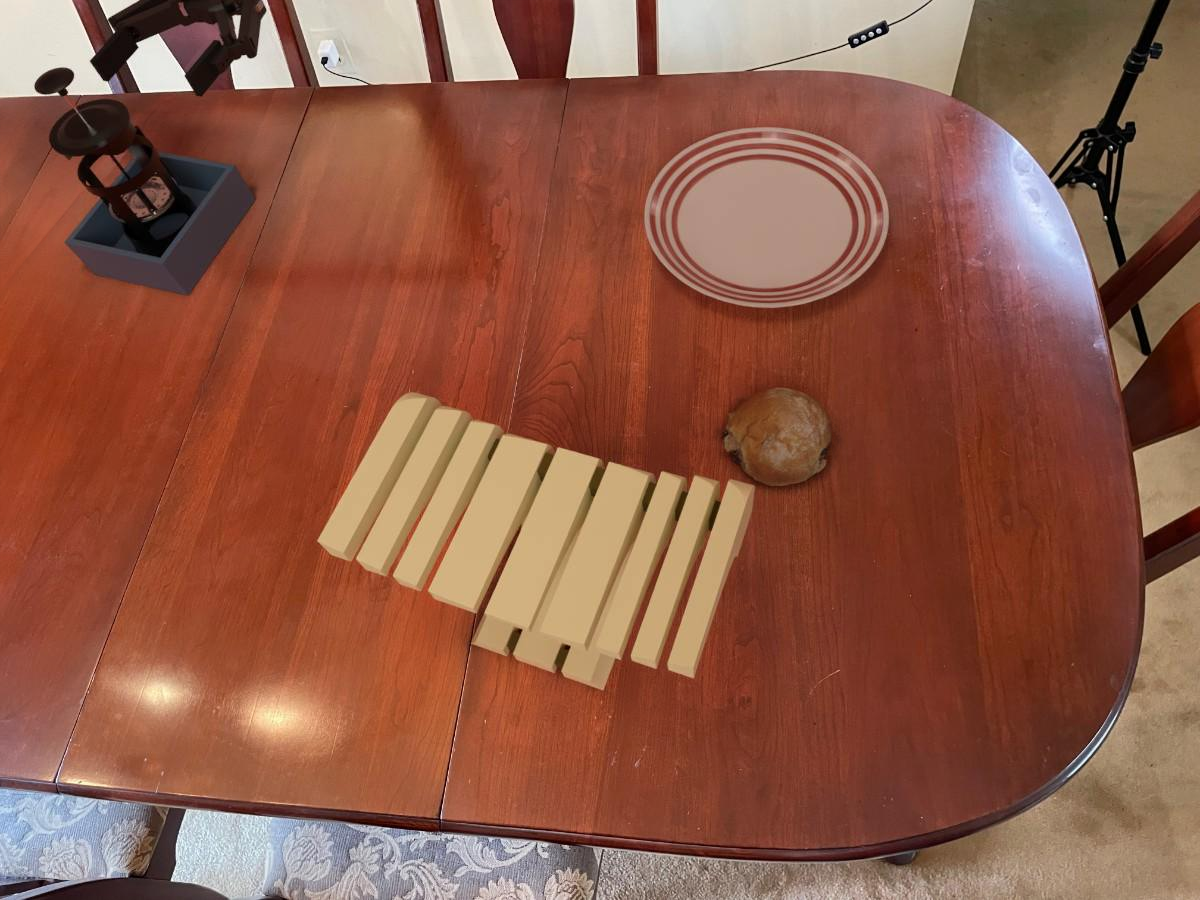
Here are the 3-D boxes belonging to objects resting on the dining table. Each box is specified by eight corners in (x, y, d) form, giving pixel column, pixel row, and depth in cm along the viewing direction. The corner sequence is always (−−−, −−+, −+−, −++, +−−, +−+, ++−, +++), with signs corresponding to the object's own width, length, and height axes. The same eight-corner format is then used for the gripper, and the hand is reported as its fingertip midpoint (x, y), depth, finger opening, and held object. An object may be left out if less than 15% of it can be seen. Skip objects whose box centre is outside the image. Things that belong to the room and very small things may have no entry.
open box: (93, 274, 107) (63, 242, 102) (165, 182, 114) (140, 147, 109) (188, 296, 103) (162, 263, 98) (256, 199, 111) (235, 164, 106)
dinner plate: (916, 180, 100) (923, 158, 97) (835, 354, 89) (840, 335, 86) (703, 125, 109) (703, 103, 106) (605, 278, 98) (602, 258, 95)
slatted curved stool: (746, 557, 79) (757, 468, 64) (695, 723, 72) (693, 667, 57) (461, 473, 87) (409, 375, 72) (391, 615, 80) (317, 540, 65)
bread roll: (793, 512, 85) (838, 487, 78) (703, 469, 83) (741, 441, 76) (814, 429, 89) (858, 400, 82) (729, 388, 88) (766, 353, 81)
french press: (198, 263, 105) (80, 106, 85) (126, 270, 106) (-8, 117, 86) (216, 194, 111) (110, 33, 91) (148, 202, 111) (27, 43, 92)
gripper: (333, 9, 108) (249, 120, 99) (174, -11, 115) (81, 92, 105) (309, -50, 102) (217, 63, 93) (142, -67, 108) (40, 37, 99)
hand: (145, 79), depth 99 cm, fingers open, 13 cm apart
